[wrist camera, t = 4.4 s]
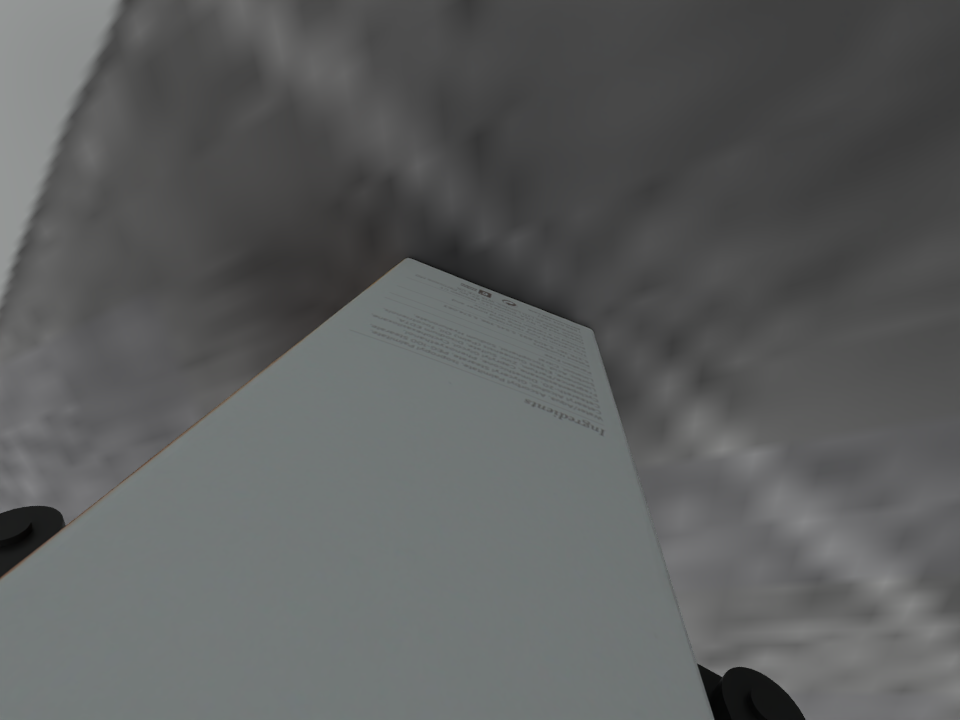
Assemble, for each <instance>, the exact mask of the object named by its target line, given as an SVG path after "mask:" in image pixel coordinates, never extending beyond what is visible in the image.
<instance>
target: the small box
mask: <svg viewBox="0 0 960 720" xmlns="http://www.w3.org/2000/svg"><path fill="white" fill-rule="evenodd" d="M0 720H714V717H713V714H712V710H711V707H710V704H709V701H708V698H707V694H706V691H705V688H704V685H703V682H702V679H701V675H700V672H699V669H698V666H697V663H696V659H695V656H694V653H693V650H692V647H691V643H690V640H689V637H688V634H687V631H686V628H685V624H684V621H683V618H682V615H681V612H680V608H679V605H678V602H677V599H676V596H675V592H674V589H673V586H672V583H671V580H670V576H669V573H668V570H667V567H666V564H665V560H664V557H663V554H662V551H661V548H660V544H659V541H658V538H657V535H656V531H655V528H654V525H653V522H652V519H651V515H650V512H649V509H648V506H647V503H646V499H645V496H644V493H643V490H642V486H641V483H640V480H639V477H638V474H637V470H636V467H635V464H634V461H633V458H632V455H631V452H630V448H629V445H628V442H627V439H626V435H625V432H624V429H623V426H622V423H621V419H620V416H619V413H618V410H617V407H616V403H615V400H614V397H613V394H612V391H611V387H610V384H609V381H608V378H607V374H606V371H605V368H604V365H603V361H602V358H601V355H600V352H599V348H598V345H597V342H596V339H595V335H594V332H593V330H592V329H589V328H587V327H585V326H582V325H579V324H577V323H574V322H572V321H569V320H567V319H564V318H561V317H559V316H556V315H554V314H551V313H548V312H546V311H544V310H541V309H539V308H536V307H533V306H530V305H528V304H525V303H523V302H520V301H518V300H515V299H512V298H510V297H507V296H505V295H502V294H499V293H497V292H494V291H492V290H489V289H487V288H484V287H481V286H479V285H476V284H474V283H471V282H469V281H466V280H463V279H461V278H458V277H456V276H453V275H451V274H449V273H446V272H443V271H441V270H438V269H436V268H433V267H431V266H428V265H426V264H423V263H421V262H418V261H416V260H414V259H411V258H405V259H404V260H402V261H401V262H400V263H399V264H397V265H396V266H395V267H393V268H392V269H391V270H389V271H388V272H387V273H386V274H385V275H383V276H382V277H381V278H379V279H378V280H377V281H375V282H374V283H373V284H372V285H371V286H369V287H368V288H367V289H366V290H365V291H363V292H362V293H361V294H359V295H358V296H357V297H356V298H354V299H353V300H352V301H351V302H349V303H348V304H347V305H345V306H344V307H343V308H342V309H340V310H339V311H338V312H337V313H335V314H334V315H333V316H332V317H330V318H329V319H328V320H326V321H325V322H324V323H323V324H321V325H320V326H319V327H318V328H316V329H315V330H314V331H312V332H311V333H310V334H309V335H307V336H306V337H305V338H303V339H302V340H301V341H300V342H298V343H297V344H296V345H294V346H293V347H292V348H290V349H289V350H288V351H287V352H285V353H284V354H283V355H282V356H280V357H279V358H278V359H276V360H275V361H274V362H272V363H271V364H270V365H269V366H268V367H266V368H265V369H264V370H263V371H261V372H260V373H259V374H257V375H256V376H255V377H254V378H252V379H251V380H250V381H249V382H247V383H246V384H245V385H243V386H242V387H241V388H240V389H238V390H237V391H236V392H235V393H233V394H232V395H231V396H230V397H228V398H227V399H226V400H225V401H223V402H222V403H221V404H219V405H218V406H217V407H216V408H214V409H213V410H212V411H211V412H209V413H208V414H207V415H205V416H204V417H203V418H202V419H200V420H199V421H198V422H196V423H195V424H194V425H193V426H191V427H190V428H189V429H188V430H186V431H185V432H184V433H182V434H181V435H180V436H179V437H177V438H176V439H175V440H174V441H172V442H171V443H170V444H169V445H167V446H166V447H165V448H164V449H162V450H161V451H160V452H159V453H157V454H156V455H155V456H154V457H152V458H151V459H150V460H149V461H147V462H146V463H145V464H144V465H142V466H141V467H140V468H139V469H137V470H136V471H135V472H133V473H132V474H131V475H130V476H128V477H127V478H126V479H125V480H123V481H122V482H121V483H120V484H118V485H117V486H116V487H115V488H113V489H112V490H111V491H110V492H108V493H107V494H106V495H105V496H103V497H102V498H101V499H99V500H98V501H97V502H96V503H94V504H93V505H92V506H91V507H89V508H88V509H87V510H85V511H84V512H83V513H82V514H80V515H79V516H78V517H77V518H75V519H74V520H73V521H71V522H70V523H69V524H68V525H66V526H65V527H64V528H63V529H61V530H60V531H59V532H57V533H56V534H55V535H54V536H52V537H51V538H50V539H49V540H47V541H46V542H45V543H43V544H42V545H41V546H40V547H38V548H37V549H36V550H35V551H33V552H32V553H31V554H29V555H28V556H27V557H26V558H24V559H23V560H22V561H21V562H19V563H18V564H17V565H15V566H14V567H13V568H12V569H10V570H9V571H8V572H7V573H5V574H4V575H3V576H1V577H0Z"/></svg>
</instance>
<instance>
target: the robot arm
mask: <svg viewBox="0 0 960 720" xmlns="http://www.w3.org/2000/svg"><path fill="white" fill-rule="evenodd" d="M65 526H66V525H65V522H64V519H63V516H62V514H61V513H60V512H59V511H58V510H56V509H54V508H51V507H47V506H29V507H22V508H17V509H13V510H10V511H6V512H3V513H1V514H0V577H1V576H3V575H4V574H5V573H7V572H8V571H9V570H10V569H12V568H13V567H14V566H15V565H17V564H18V563H19V562H21V561H22V560H23V559H24V558H26V557H27V556H28V555H29V554H31V553H32V552H33V551H35V550H36V549H37V548H38V547H40V546H41V545H42V544H43V543H45V542H46V541H47V540H49V539H50V538H51V537H52V536H54V535H55V534H56V533H57V532H59V531H60V530H61V529H63V528H64V527H65ZM697 666H698V669H699V672H700V675H701V679H702V682H703V685H704V688H705V691H706V694H707V698H708V701H709V704H710V707H711V710H712V714H713V717H714V720H805V718H804V716H803V714H802V713H801V711H800V709H799V708H798V706H797V705H796V704H795V702H794V701H793V700H792V699H791V697H790V696H789V695H788V694H787V693H786V692H785V691H784V690H783V689H782V688H781V687H780V686H779V685H777V684H776V683H775V682H774V681H772V680H771V679H770V678H768V677H767V676H765V675H763V674H761V673H760V672H757V671H755V670H752V669H749V668H745V667H736V668H732V669H730V670H728V671H727V672H726V673H725V675H724V676H723V677H721V676H719V675H717V674H715V673H714V672H712V671H710V670H708V669H706V668H704V667H703V666H701V665H699V664H697Z"/></svg>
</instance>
